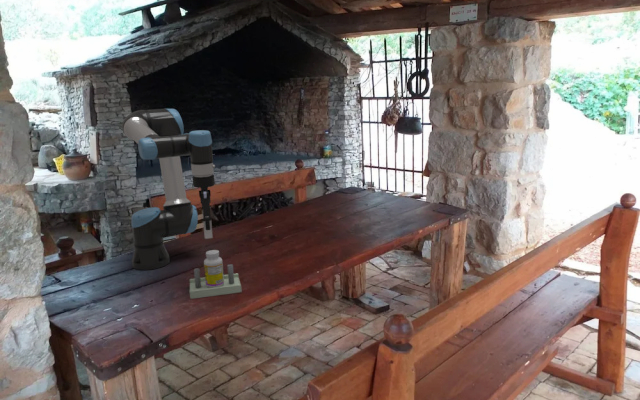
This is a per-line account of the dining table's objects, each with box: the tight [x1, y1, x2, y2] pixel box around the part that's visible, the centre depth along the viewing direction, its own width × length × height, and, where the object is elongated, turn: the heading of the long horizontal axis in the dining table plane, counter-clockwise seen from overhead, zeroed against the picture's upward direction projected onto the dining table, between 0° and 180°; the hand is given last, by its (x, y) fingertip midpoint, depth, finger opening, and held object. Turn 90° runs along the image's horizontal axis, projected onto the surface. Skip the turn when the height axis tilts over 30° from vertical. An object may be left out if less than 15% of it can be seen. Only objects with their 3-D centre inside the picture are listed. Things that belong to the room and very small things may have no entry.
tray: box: [189, 263, 243, 300], centre depth 182 cm, size 18×12×8 cm, turn 104°
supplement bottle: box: [203, 249, 225, 288], centre depth 181 cm, size 7×7×13 cm
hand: (208, 232), depth 181 cm, fingers open, 13 cm apart
